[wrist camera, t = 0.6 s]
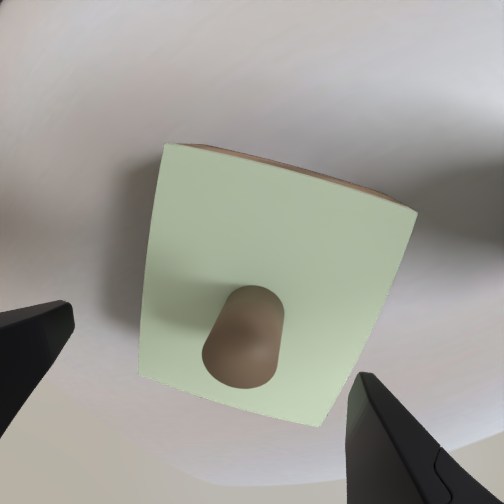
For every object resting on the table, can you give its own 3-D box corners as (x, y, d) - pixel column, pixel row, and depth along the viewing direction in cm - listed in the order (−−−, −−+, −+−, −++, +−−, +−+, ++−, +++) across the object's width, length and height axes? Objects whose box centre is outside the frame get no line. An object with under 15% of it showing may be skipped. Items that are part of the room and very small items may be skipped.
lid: (410, 208, 14) (455, 235, 9) (319, 414, 19) (318, 477, 14) (174, 143, 15) (119, 143, 10) (145, 363, 20) (109, 414, 15)
